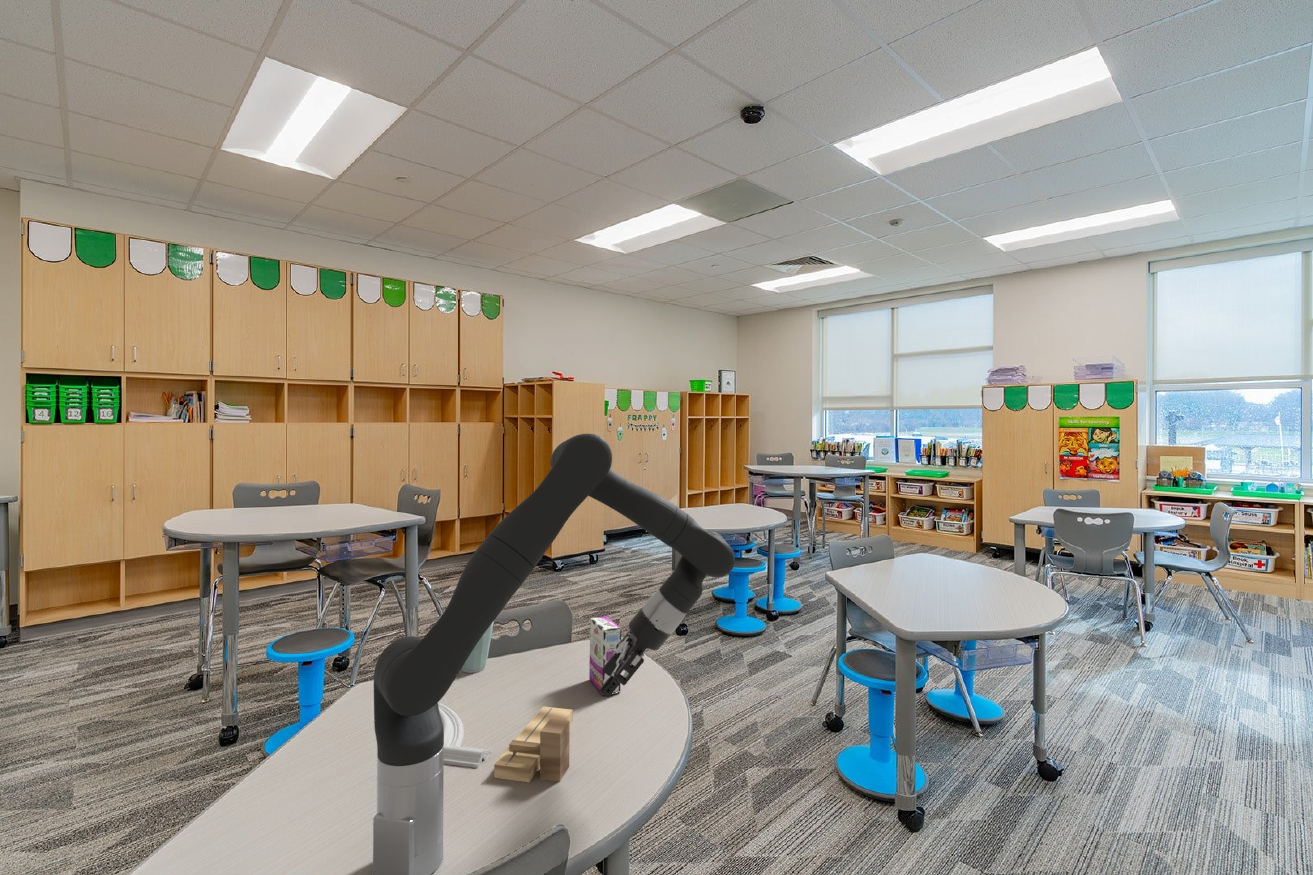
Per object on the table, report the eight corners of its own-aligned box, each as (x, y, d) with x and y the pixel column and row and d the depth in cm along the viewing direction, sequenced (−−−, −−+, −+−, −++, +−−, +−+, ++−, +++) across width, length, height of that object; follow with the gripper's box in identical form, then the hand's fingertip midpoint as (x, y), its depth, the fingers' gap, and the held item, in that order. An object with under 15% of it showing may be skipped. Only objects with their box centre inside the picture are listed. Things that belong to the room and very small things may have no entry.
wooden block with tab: (560, 781, 110) (560, 733, 110) (505, 774, 112) (505, 727, 112) (569, 766, 115) (569, 720, 115) (516, 760, 117) (516, 714, 117)
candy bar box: (621, 693, 147) (622, 627, 147) (602, 696, 145) (603, 630, 145) (606, 676, 157) (607, 615, 157) (588, 679, 155) (589, 617, 155)
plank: (529, 782, 109) (529, 768, 109) (494, 777, 111) (494, 763, 111) (572, 720, 133) (572, 709, 133) (543, 717, 134) (543, 706, 134)
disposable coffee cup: (481, 658, 169) (481, 605, 169) (501, 668, 162) (502, 614, 162) (446, 668, 161) (446, 613, 161) (466, 680, 154) (466, 622, 154)
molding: (497, 765, 116) (497, 750, 116) (433, 784, 109) (433, 768, 109) (443, 686, 152) (443, 675, 151) (392, 697, 145) (392, 685, 145)
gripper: (642, 595, 121) (592, 655, 121) (643, 620, 107) (586, 688, 107) (670, 617, 121) (620, 677, 122) (675, 645, 107) (618, 713, 107)
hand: (604, 682), depth 114 cm, fingers open, 8 cm apart
